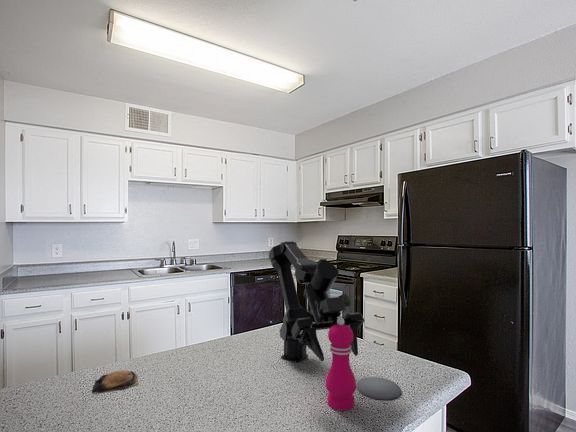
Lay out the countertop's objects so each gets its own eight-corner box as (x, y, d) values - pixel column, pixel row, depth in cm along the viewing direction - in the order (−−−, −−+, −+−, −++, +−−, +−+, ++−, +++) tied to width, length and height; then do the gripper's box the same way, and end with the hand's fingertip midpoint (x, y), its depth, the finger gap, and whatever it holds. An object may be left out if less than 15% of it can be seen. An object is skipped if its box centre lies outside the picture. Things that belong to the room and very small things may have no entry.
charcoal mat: (349, 391, 83) (349, 389, 83) (365, 375, 92) (365, 373, 92) (393, 404, 76) (393, 402, 76) (405, 386, 86) (405, 383, 86)
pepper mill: (358, 398, 79) (357, 315, 80) (354, 414, 72) (353, 323, 73) (328, 393, 82) (329, 312, 82) (322, 408, 75) (322, 320, 76)
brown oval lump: (137, 375, 92) (138, 362, 92) (138, 388, 85) (138, 374, 85) (94, 383, 87) (94, 369, 88) (91, 397, 80) (91, 382, 80)
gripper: (295, 285, 80) (315, 346, 69) (360, 281, 87) (387, 336, 76) (284, 310, 87) (300, 369, 76) (345, 305, 94) (367, 358, 83)
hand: (340, 357), depth 78 cm, fingers open, 9 cm apart
